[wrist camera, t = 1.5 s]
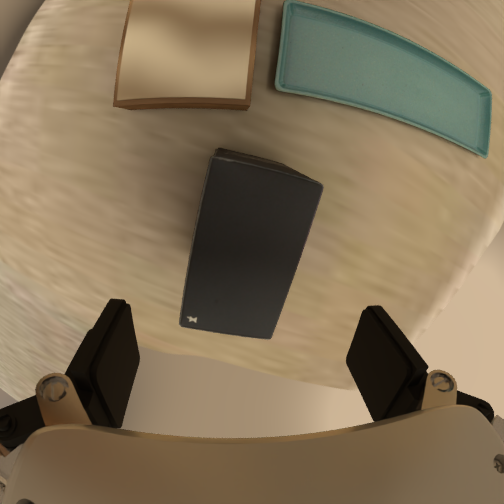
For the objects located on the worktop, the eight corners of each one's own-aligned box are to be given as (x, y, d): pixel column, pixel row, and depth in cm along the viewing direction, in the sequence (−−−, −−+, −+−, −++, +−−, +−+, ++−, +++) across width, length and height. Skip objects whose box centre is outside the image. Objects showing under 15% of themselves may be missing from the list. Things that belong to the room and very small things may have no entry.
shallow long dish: (481, 90, 21) (494, 90, 18) (476, 157, 24) (490, 160, 22) (279, 8, 18) (284, -3, 15) (268, 94, 21) (273, 90, 19)
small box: (258, 271, 27) (274, 345, 18) (191, 258, 26) (173, 329, 17) (289, 164, 23) (331, 186, 14) (215, 146, 22) (205, 153, 13)
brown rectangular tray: (152, -19, 15) (141, -40, 11) (260, -21, 16) (266, -43, 12) (130, 109, 20) (111, 106, 16) (246, 110, 21) (250, 104, 17)
